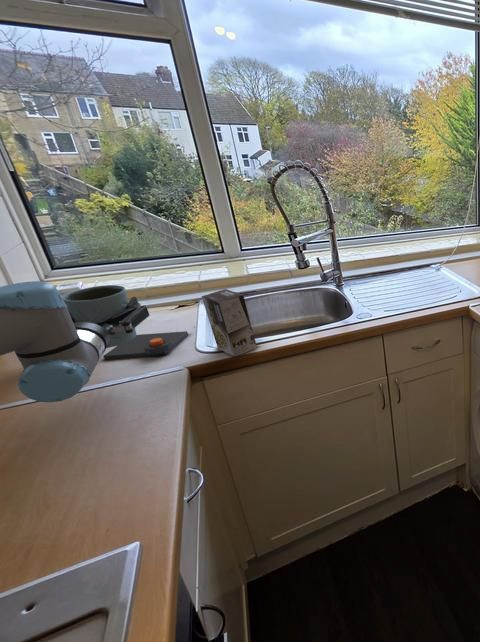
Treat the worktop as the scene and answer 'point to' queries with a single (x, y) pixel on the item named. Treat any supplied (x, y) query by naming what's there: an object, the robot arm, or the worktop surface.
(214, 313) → the coffee box
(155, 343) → the tare button
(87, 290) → the grey-green plant pot
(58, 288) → the syrup box
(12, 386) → the worktop surface
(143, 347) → the scale
